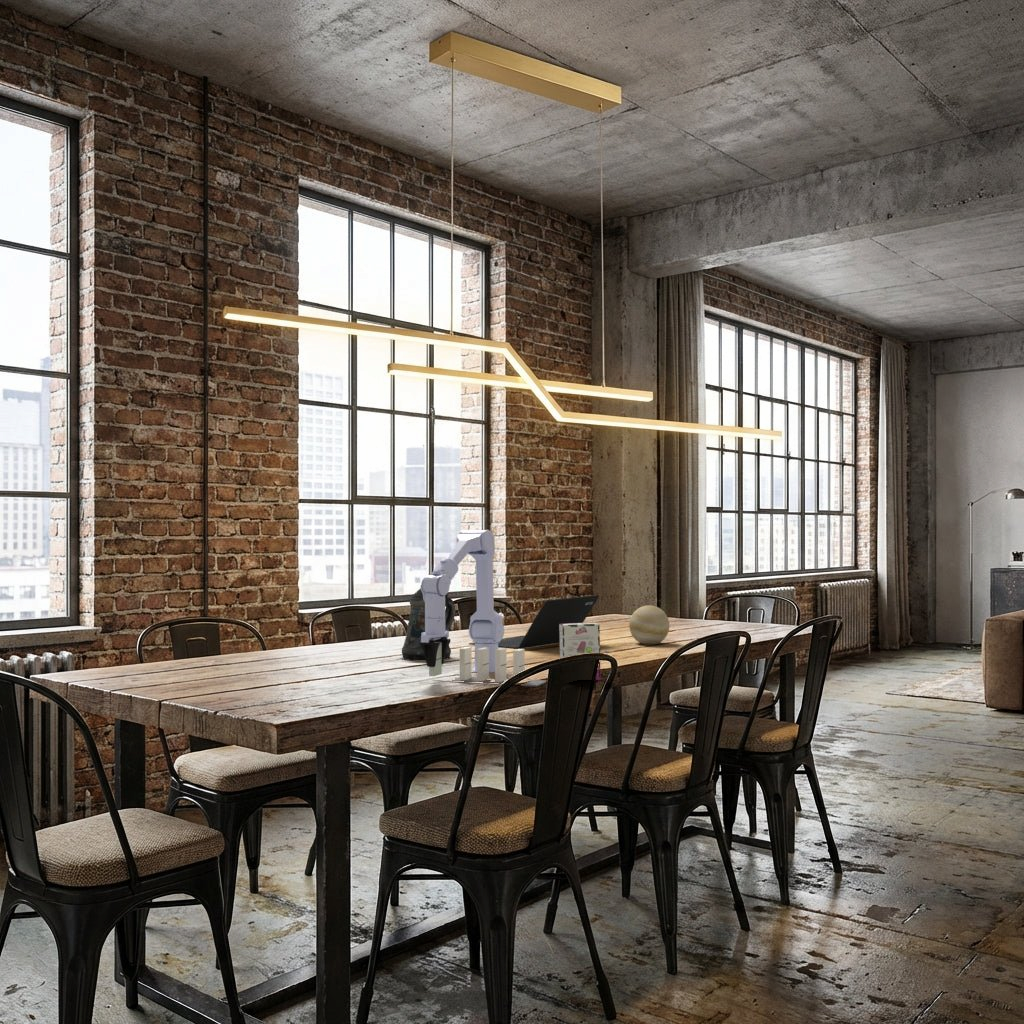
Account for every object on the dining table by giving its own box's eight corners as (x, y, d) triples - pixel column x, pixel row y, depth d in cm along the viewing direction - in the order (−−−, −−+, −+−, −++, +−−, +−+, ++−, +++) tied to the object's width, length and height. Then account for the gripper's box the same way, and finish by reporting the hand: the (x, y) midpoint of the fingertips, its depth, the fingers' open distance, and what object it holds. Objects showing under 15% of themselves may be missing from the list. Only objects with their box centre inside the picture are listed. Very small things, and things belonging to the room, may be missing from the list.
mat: (419, 680, 299) (419, 678, 299) (432, 676, 308) (432, 674, 308) (537, 686, 287) (537, 685, 287) (547, 682, 295) (547, 680, 295)
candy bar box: (596, 678, 303) (595, 622, 303) (600, 680, 298) (600, 623, 298) (559, 679, 301) (558, 623, 301) (563, 681, 296) (563, 624, 296)
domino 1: (459, 679, 297) (459, 648, 297) (466, 677, 302) (466, 646, 302) (464, 680, 297) (464, 648, 297) (471, 677, 301) (471, 646, 302)
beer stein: (393, 662, 342) (393, 586, 342) (416, 655, 360) (416, 583, 361) (440, 663, 337) (440, 587, 337) (460, 656, 356) (460, 584, 356)
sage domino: (429, 676, 291) (428, 644, 291) (436, 673, 296) (436, 642, 296) (434, 676, 290) (434, 644, 290) (441, 673, 295) (441, 642, 295)
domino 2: (477, 680, 295) (477, 649, 296) (483, 678, 300) (483, 647, 300) (482, 681, 295) (482, 649, 295) (489, 678, 299) (488, 647, 300)
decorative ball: (648, 642, 400) (647, 603, 400) (677, 645, 388) (677, 605, 388) (621, 645, 390) (620, 605, 390) (650, 648, 378) (650, 607, 379)
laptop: (523, 640, 412) (523, 591, 413) (600, 646, 388) (600, 594, 389) (467, 647, 387) (466, 595, 387) (546, 654, 363) (546, 599, 363)
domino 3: (495, 681, 293) (495, 650, 294) (501, 679, 298) (501, 648, 298) (500, 682, 293) (500, 650, 293) (506, 679, 298) (506, 648, 298)
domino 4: (513, 682, 291) (513, 650, 292) (519, 680, 296) (519, 648, 296) (518, 683, 291) (518, 650, 291) (524, 680, 296) (524, 649, 296)
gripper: (433, 615, 301) (433, 661, 301) (411, 619, 288) (411, 668, 288) (455, 615, 299) (455, 662, 299) (434, 620, 285) (434, 669, 285)
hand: (435, 665), depth 293 cm, fingers closed on sage domino, 5 cm apart
